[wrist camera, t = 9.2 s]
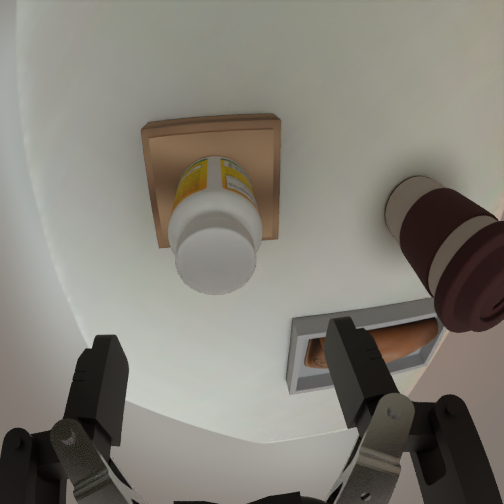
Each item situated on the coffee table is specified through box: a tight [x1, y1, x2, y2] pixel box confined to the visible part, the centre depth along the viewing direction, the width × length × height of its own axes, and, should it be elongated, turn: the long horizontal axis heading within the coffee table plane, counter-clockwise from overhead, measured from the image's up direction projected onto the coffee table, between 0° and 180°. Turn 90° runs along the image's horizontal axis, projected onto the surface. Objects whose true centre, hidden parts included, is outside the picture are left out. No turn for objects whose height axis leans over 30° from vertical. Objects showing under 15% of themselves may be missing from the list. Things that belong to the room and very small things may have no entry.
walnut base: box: [141, 114, 281, 248], centre depth 25 cm, size 10×10×4 cm
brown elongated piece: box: [304, 317, 438, 369], centre depth 39 cm, size 18×7×7 cm
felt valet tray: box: [286, 297, 446, 395], centre depth 41 cm, size 13×23×3 cm, turn 91°
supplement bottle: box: [168, 156, 263, 295], centre depth 20 cm, size 5×5×10 cm
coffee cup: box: [385, 176, 504, 333], centre depth 25 cm, size 10×10×15 cm
